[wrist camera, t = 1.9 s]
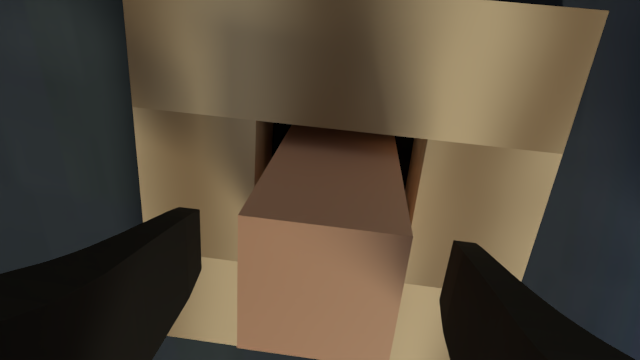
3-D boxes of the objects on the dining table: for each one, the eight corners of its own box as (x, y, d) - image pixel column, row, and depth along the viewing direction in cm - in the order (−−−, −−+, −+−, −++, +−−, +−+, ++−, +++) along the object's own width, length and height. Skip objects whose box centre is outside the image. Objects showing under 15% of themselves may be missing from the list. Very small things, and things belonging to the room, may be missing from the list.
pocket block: (564, 8, 15) (609, 10, 12) (472, 329, 20) (488, 382, 17) (163, -28, 16) (119, -33, 13) (181, 289, 21) (153, 333, 18)
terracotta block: (394, 133, 17) (413, 236, 10) (380, 222, 19) (387, 369, 11) (293, 122, 17) (237, 214, 10) (288, 211, 19) (236, 347, 12)
